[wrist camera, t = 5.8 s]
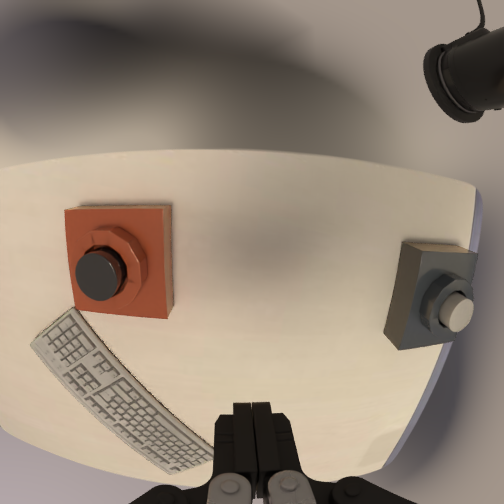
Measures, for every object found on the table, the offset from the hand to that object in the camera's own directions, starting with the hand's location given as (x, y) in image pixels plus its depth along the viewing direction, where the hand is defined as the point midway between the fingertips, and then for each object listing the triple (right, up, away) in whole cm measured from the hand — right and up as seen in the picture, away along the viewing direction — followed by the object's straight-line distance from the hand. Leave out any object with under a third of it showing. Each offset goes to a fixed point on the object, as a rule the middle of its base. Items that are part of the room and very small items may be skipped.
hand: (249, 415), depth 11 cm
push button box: (+20, +2, +19) cm, 28 cm away
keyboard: (-17, -14, +21) cm, 30 cm away
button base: (-13, +6, +16) cm, 21 cm away
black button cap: (-12, +5, +11) cm, 18 cm away
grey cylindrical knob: (+21, +1, +13) cm, 25 cm away
